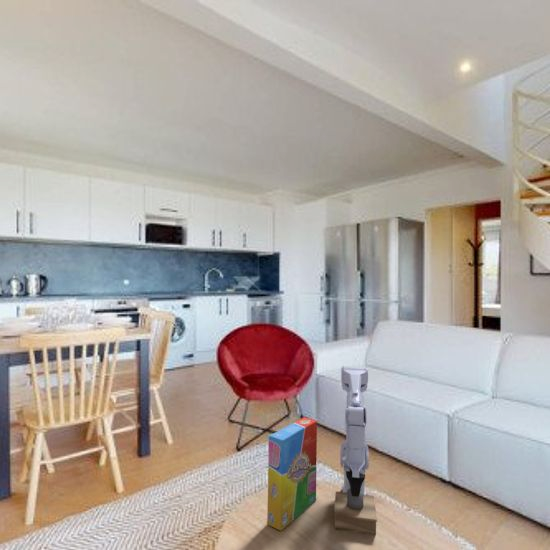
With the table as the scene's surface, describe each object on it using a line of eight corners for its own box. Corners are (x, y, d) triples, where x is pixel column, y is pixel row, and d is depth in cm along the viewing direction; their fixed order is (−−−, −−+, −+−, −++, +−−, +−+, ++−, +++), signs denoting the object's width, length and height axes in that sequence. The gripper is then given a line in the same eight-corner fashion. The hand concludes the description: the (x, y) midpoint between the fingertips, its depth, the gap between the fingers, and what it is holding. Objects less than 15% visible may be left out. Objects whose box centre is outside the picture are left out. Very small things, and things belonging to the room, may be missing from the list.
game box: (280, 532, 111) (281, 440, 111) (266, 525, 114) (267, 435, 114) (316, 499, 127) (317, 420, 128) (303, 494, 131) (304, 416, 131)
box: (336, 505, 124) (336, 493, 124) (373, 510, 122) (373, 497, 122) (334, 529, 112) (335, 515, 112) (376, 534, 110) (376, 521, 110)
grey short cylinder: (347, 499, 120) (347, 486, 120) (363, 501, 118) (363, 488, 118) (346, 508, 115) (346, 495, 115) (363, 511, 114) (363, 497, 114)
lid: (335, 493, 124) (335, 491, 124) (374, 497, 122) (374, 495, 122) (334, 516, 112) (334, 514, 112) (376, 521, 110) (376, 519, 110)
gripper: (342, 434, 125) (342, 475, 125) (342, 454, 110) (341, 500, 110) (364, 436, 123) (364, 477, 123) (366, 457, 109) (366, 503, 109)
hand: (355, 488), depth 117 cm, fingers open, 7 cm apart
